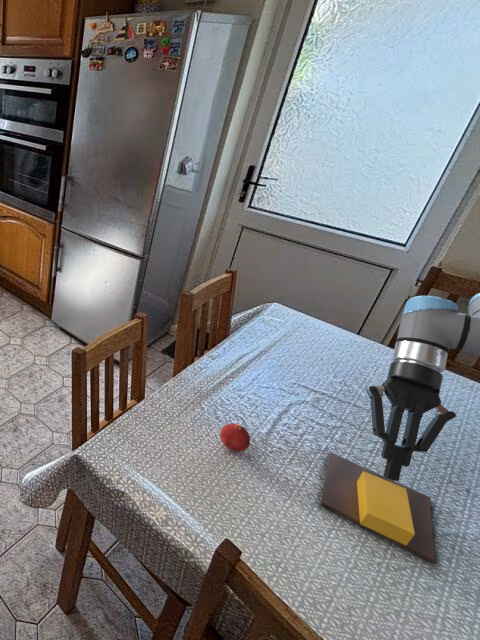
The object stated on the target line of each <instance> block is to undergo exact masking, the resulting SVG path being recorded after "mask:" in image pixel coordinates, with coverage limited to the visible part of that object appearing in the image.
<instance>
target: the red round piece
mask: <svg viewBox="0 0 480 640" xmlns="http://www.w3.org/2000/svg"><path fill="white" fill-rule="evenodd" d="M219 438H220V439H221V440H220V441H221V443H222V444H223V445H224V446H225V448H227V449H228V450H229V451H231V452H232V451H233V452H243V451H246V450H247V449H248V448H249V447H250V443H251V437H250V434H249V431H247V429H246V428H245V427H244V426H243V425H241V424H240V423H233V422H232V423H228V424H225V425H224V426H223V427H222V428H221V430H220V434H219Z"/></svg>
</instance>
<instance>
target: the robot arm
mask: <svg viewBox="0 0 480 640" xmlns="http://www.w3.org/2000/svg"><path fill="white" fill-rule="evenodd" d="M450 349H452V350H455V351H456V350H457V351H460V352H461V351H462V352H466V353H469V354H475V355H478V356H480V292H479V293H476V294H475V295H474V296H472V297H471V299H470V300H469V302H468V305H467V313H461V312H459V306H458V304H456V302H454V301H452V300H450V299H445V298H443V297H439V296H432V295H417V296H413V297H410V298H409V299H408V300H407V301H406V302H405V306H404V309H403V312H402V315H401V318H400V323H399V327H398V332H397V336H396V341H395V345H394V349H393V353H392V357H391V360H392V362H391V363H390V364H389V368H388V372H387V377H386V379H385V381H384V382H383V383H382V384H381V385H378V386H375V385H371V386H368V387H366V388H365V392H366V393H367V395H368V397H369V401H370V411H371V412H370V413H371V425H372V434H373V435H374V436H376V437H377V438H379V439H381V440H382V443H383V444H382V449H381V453H380V456H381V458H382V459H384V460H386V462H385V466H384V470H383V475H382V476H383V477H386V478H388V479H391V480H393V481H395V482H399V481H400V477H401V472H402V468H403V467H405V468H408V467H409V466H411V460H412V456H413V453H414V452H418V453H427V452H428V451H429V450H430V448H431V447H432V446H433V444H434V442H435V441H436V439H437V438H438V436H439V434H440V433H441V432H442V430H443V428H444V427H445V426H446V424H447V423H448V422H449V421H451V420H453V419H455V418H456V417H457V414H456V412H454V411H452V410H451V411H450V410H449V409H447V408H446V407H445V406H444V405H442V399H441V398H440V392H441V389H442V384H443V379H444V376H443V374H442V373H444V372H445V370H446V365H447V359H448V354H449V351H450ZM384 394H385V396H386V398H387V399H388V401H389V403H390V404H391V406H390V408H389V409H390V411H389V412H390V413H389V417H388V421H387V424H386V426H385V417H384V416H385V415H384V406H383V405H384V404H383V398H382V397H383V396H384ZM434 409H435V410H434ZM431 410H434V411H433V415H434V417H433V418H432V419H431V420H430V421H429V423H428V425H427V426H426V428H425V429H424V431H423V433H422V434H421V436H420V437H419V439H418V435H419V431H420V426H421V421H422V418H423V417H424V414H425V413H427V412H429V411H431ZM405 411H407V414H406V416H407V418H406V423H405V427H404V430H403V436H402V440H401V444H400V445H397V442H398V438H399V433H400V428H401V425H402V420H403V416H404V413H405ZM385 427H386V428H385ZM417 439H418V440H417Z"/></svg>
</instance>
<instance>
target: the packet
mask: <svg viewBox="0 0 480 640" xmlns="http://www.w3.org/2000/svg"><path fill="white" fill-rule="evenodd" d="M357 491H358V503H359V516H360V524H361V525H363V526H365V527H367V528H370V529H372V530H374V531H376V532H378V533H380V534H382V535H385V536H387V537H389V538H391V539H393V540H395V541H397V542H400V543H402V544H404V545H407V544H408V543H409V542H410V540H411V539H412V538H413V536H414V535H415V532H414V527H413V522H412V517H411V511H410V506H409V501H408V496H407V490H406V488H403V487H401V486H398V485H396V484H393V483H391V482H389V481H386V480H384V479H381V478H379V477H376V476H374V475H372V474H369V473H367V472H364V471H363V473H362V474H361V476H360V478H359V479H358V481H357Z"/></svg>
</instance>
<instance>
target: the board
mask: <svg viewBox="0 0 480 640" xmlns="http://www.w3.org/2000/svg"><path fill="white" fill-rule="evenodd" d="M363 471H364V472H367V473H369V474H372V475H374V476H376V477H379V478H381V479H384V480H386V481H389V482H391V483H393V484H396V485H398V486H401V487H403V488H406V490H407V496H408V501H409V506H410V511H411V517H412V522H413V527H414V532H415V535H414V536H413V538H412V539H411V540H410V542H409V543H408V544H407V545H404V544H402V543H400V542H397V541H395V540H393V539H391V538H389V537H387V536H385V535H382V534H380V533H378V532H376V531H374V530H372V529H370V528H367V527H365V526H363V525H361V524H360V516H359V503H358V491H357V481H358V479H359V478H360V476H361V474H362V473H363ZM322 489H323V490H322V494H321V495H322V496H321V502H320V506H321V507H323V508H325V509H326V510H329V511H330V512H332V513H334V514H336V515H338V516H340V517H342V518H344V519H346V520H348V521H349V522H351V523H353V524H355V525H357V526H359V527H361V528H363V529H365V530H367V531H368V532H371V533H372V534H374V535H376V536H378V537H381V538H382V539H384V540H386V541H388V542H390V543H392V544H394V545H395V546H397V547H399V548H401V549H404V550H405V551H407V552H408V553H411V554H413V555H414V556H417V557H419V558H420V559H422V560H424V561H426V562H428V563H430V564H434V563H435V562H436V554H435V543H434V531H433V520H432V508H431V497H430V496H429V495H427V494H424V493H422V492H420V491H417V490H415V489H413V488H410V487H408V486H406V485H404V484H402V483H399V482H398V481H393V480H391V479H388V478H386V477H383V475H382V474H380V473H377V472H375V471H374V470H371V469H368V468H366V467H364V466H362V465H359V464H357V463H355V462H353V461H351V460H349V459H346V458H345V457H342V456H341V455H337V454H335V453H333V452H329V453H328V458H327V463H326V470H325V475H324V483H323V488H322Z"/></svg>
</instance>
